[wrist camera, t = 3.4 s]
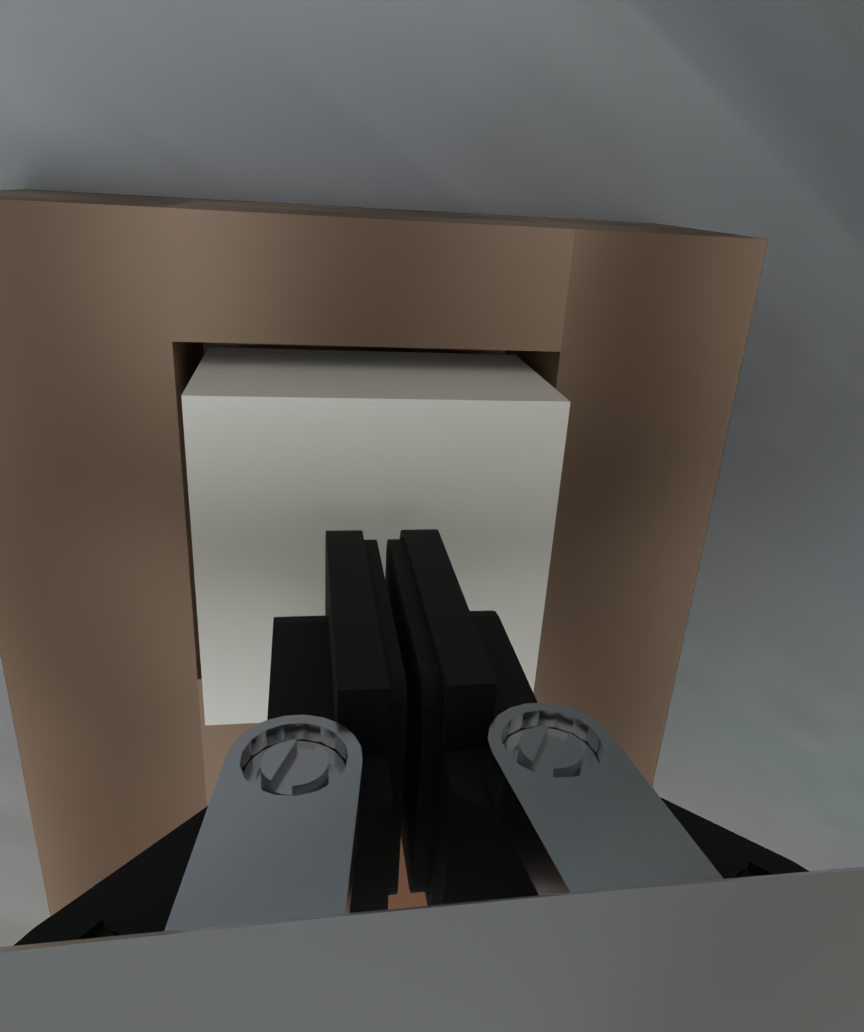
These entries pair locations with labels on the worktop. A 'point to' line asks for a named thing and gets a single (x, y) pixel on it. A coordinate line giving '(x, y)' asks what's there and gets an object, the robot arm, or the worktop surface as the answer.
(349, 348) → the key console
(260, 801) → the robot arm
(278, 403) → the offwhite key
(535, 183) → the worktop surface
